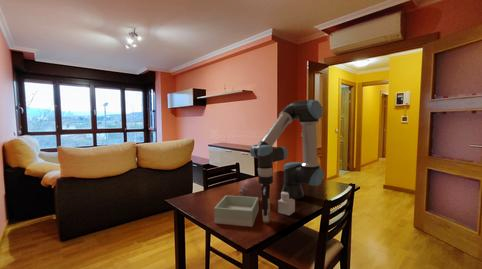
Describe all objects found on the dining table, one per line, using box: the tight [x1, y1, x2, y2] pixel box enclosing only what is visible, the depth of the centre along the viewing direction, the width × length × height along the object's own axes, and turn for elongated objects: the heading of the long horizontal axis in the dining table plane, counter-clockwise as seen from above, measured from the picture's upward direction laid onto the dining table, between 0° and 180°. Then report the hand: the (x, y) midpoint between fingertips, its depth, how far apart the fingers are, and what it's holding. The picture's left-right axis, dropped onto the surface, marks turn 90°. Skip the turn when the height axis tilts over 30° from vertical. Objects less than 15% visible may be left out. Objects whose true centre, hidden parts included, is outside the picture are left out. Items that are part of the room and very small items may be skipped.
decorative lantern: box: [237, 178, 263, 202], centre depth 143 cm, size 15×20×15 cm
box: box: [213, 194, 260, 228], centre depth 124 cm, size 20×20×8 cm
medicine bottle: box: [277, 190, 296, 216], centre depth 129 cm, size 7×7×12 cm
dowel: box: [261, 197, 271, 224], centre depth 118 cm, size 4×4×12 cm
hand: (266, 218), depth 118 cm, fingers closed on dowel, 4 cm apart
